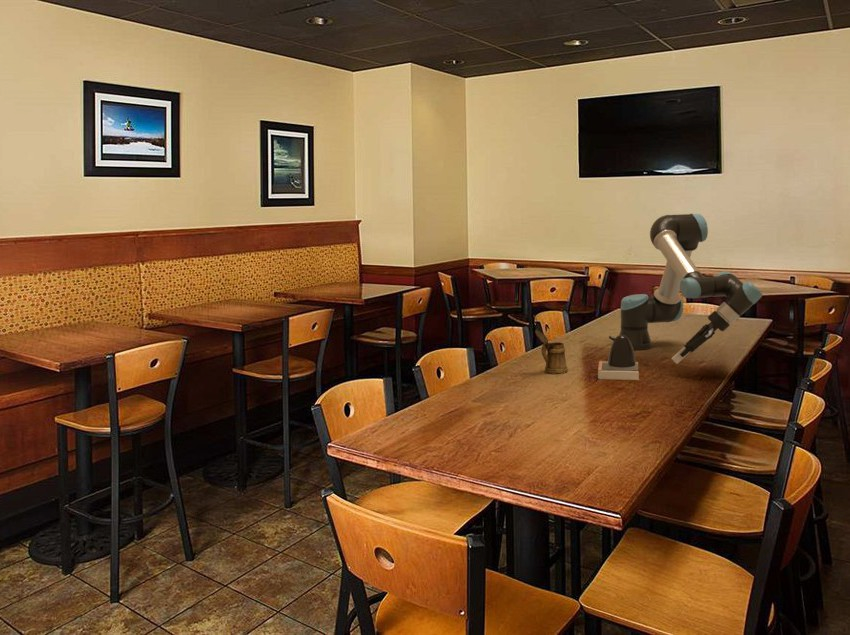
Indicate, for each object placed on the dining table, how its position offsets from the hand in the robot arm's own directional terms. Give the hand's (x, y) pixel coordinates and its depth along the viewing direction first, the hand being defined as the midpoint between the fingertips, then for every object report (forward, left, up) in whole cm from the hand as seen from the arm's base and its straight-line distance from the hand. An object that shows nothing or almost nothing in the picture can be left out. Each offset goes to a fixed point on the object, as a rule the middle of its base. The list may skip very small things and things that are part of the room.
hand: (674, 361), depth 269 cm
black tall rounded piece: (-2, -19, -6) cm, 20 cm away
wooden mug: (-1, -46, -6) cm, 46 cm away
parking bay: (0, -20, -6) cm, 21 cm away
